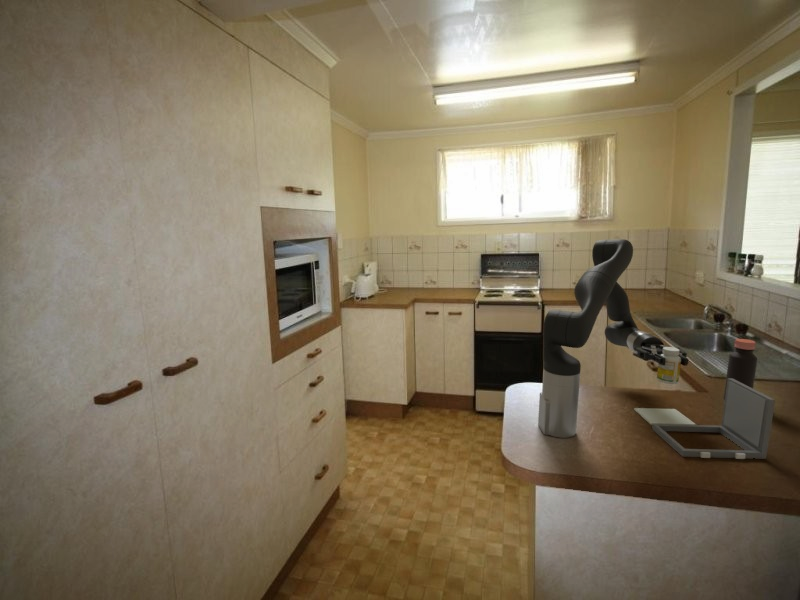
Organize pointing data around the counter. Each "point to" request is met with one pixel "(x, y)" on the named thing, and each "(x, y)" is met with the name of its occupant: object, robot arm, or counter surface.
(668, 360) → the supplement bottle
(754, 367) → the vinegar
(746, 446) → the access hatch
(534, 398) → the counter surface
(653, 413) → the mat
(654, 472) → the counter surface
